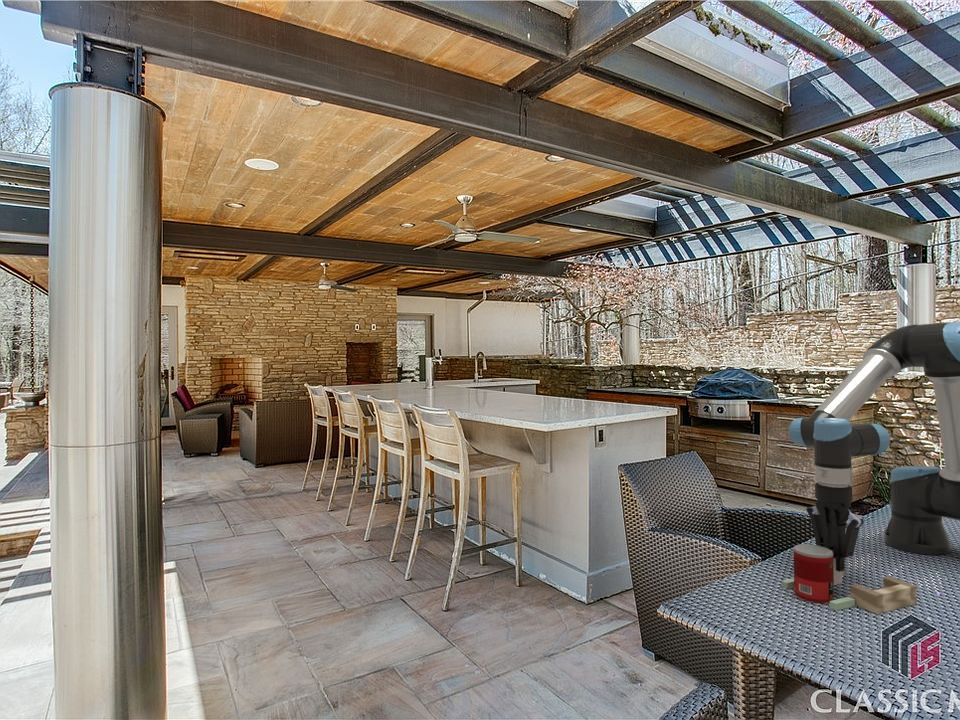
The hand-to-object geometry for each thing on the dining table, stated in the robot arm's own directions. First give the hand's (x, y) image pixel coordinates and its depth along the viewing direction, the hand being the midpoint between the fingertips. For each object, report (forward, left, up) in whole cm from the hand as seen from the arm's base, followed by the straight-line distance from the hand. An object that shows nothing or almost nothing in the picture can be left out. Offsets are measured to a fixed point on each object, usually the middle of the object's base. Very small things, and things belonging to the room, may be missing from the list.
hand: (835, 582), depth 133 cm
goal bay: (+6, 0, -2) cm, 6 cm away
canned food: (+7, 0, -2) cm, 7 cm away
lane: (-4, +2, -2) cm, 5 cm away
